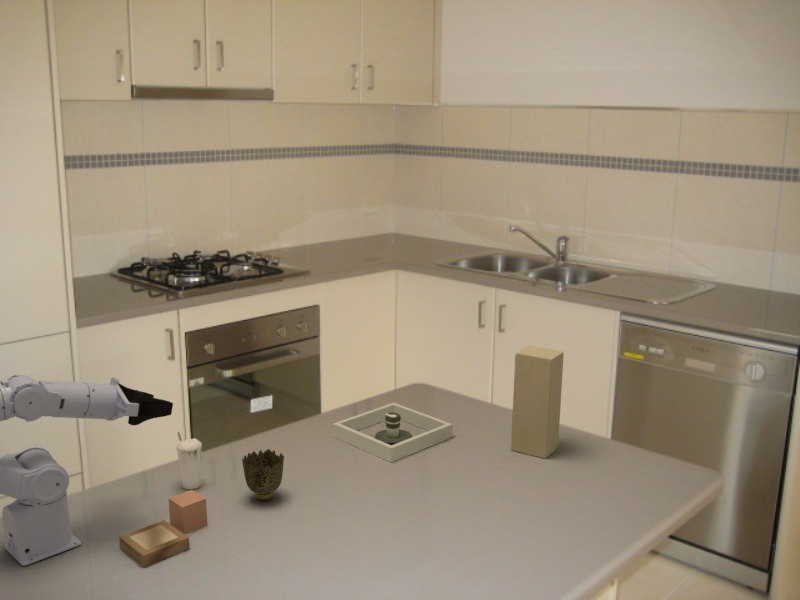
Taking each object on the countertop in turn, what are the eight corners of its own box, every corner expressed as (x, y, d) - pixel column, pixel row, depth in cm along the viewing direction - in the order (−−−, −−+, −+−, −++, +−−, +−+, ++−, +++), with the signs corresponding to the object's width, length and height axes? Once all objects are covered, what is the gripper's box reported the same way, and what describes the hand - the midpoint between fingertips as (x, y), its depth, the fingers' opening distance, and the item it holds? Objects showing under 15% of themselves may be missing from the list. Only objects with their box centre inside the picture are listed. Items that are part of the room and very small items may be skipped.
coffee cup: (421, 447, 176) (421, 425, 174) (363, 447, 176) (362, 425, 175) (420, 425, 187) (420, 404, 186) (366, 425, 187) (365, 404, 186)
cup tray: (391, 462, 169) (391, 448, 169) (333, 436, 182) (333, 423, 181) (452, 437, 181) (452, 424, 181) (393, 415, 194) (393, 402, 193)
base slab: (144, 567, 132) (143, 555, 132) (120, 548, 138) (119, 536, 137) (189, 548, 137) (189, 537, 137) (164, 530, 143) (163, 519, 142)
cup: (293, 497, 155) (292, 456, 153) (261, 511, 149) (259, 469, 147) (268, 485, 160) (266, 445, 158) (235, 498, 154) (233, 457, 152)
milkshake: (191, 477, 163) (188, 428, 160) (209, 485, 160) (206, 435, 157) (171, 485, 159) (168, 435, 157) (189, 493, 156) (185, 443, 154)
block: (184, 534, 142) (182, 507, 141) (170, 525, 145) (168, 498, 144) (207, 525, 145) (205, 498, 144) (193, 516, 148) (191, 489, 147)
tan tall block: (560, 446, 177) (565, 350, 172) (546, 459, 171) (551, 359, 166) (525, 438, 181) (528, 344, 176) (510, 450, 175) (513, 353, 170)
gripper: (103, 383, 132) (184, 388, 141) (71, 369, 143) (147, 375, 152) (96, 428, 132) (177, 430, 141) (64, 411, 143) (141, 414, 152)
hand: (161, 404), depth 146 cm, fingers open, 7 cm apart
